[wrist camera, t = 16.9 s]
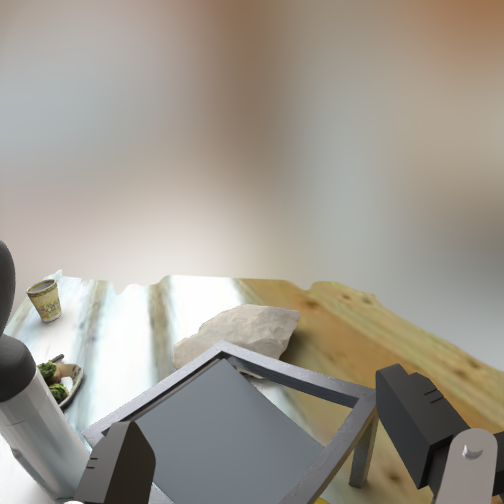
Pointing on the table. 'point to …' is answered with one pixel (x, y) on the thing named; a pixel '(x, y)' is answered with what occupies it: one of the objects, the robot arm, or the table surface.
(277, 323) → the rock
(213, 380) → the trapdoor
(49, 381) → the salad plate
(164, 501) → the trapdoor frame
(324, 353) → the table surface
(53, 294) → the ceramic cup
